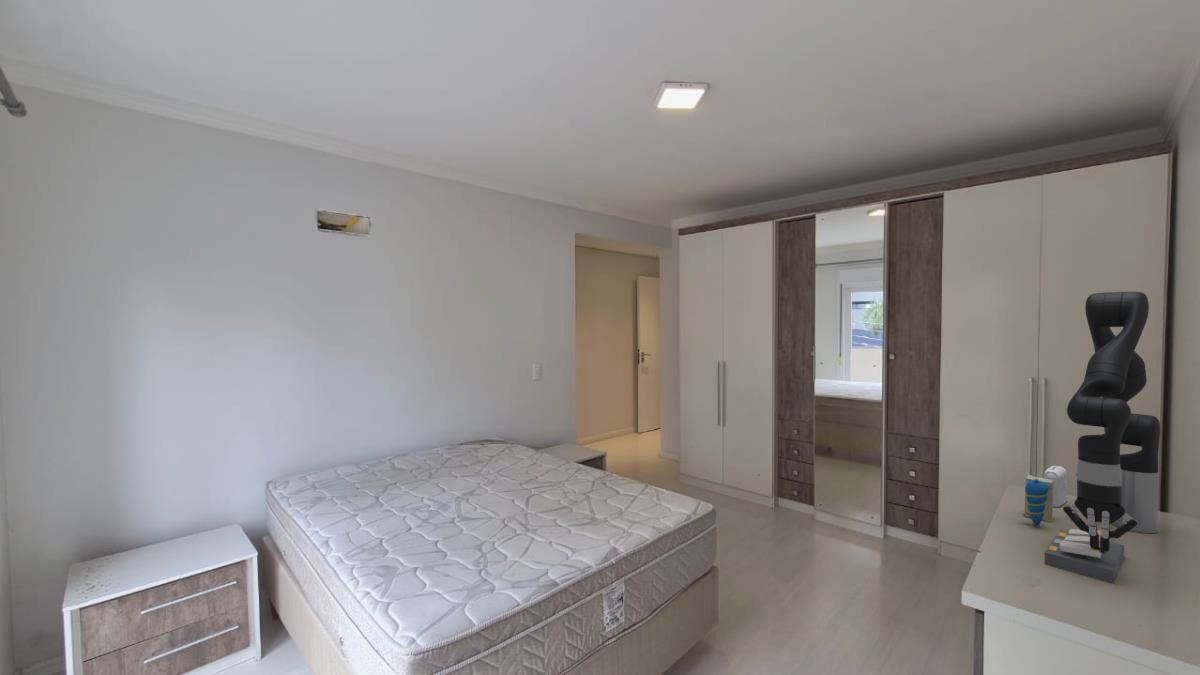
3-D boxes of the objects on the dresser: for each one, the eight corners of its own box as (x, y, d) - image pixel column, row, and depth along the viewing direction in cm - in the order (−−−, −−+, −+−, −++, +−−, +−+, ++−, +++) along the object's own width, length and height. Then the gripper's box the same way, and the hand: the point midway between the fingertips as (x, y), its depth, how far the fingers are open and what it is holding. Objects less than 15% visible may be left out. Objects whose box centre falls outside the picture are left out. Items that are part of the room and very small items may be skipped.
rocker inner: (1072, 534, 130) (1070, 528, 130) (1109, 536, 125) (1107, 530, 125) (1069, 538, 127) (1068, 532, 128) (1107, 540, 122) (1104, 534, 122)
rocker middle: (1068, 540, 126) (1066, 534, 127) (1106, 543, 121) (1103, 536, 121) (1065, 545, 124) (1063, 539, 124) (1103, 548, 118) (1101, 541, 119)
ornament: (1048, 526, 143) (1048, 476, 142) (1048, 532, 139) (1048, 480, 138) (1025, 521, 146) (1025, 472, 146) (1024, 527, 142) (1024, 477, 142)
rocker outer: (1063, 546, 123) (1062, 539, 123) (1102, 552, 117) (1101, 546, 117) (1060, 550, 120) (1059, 544, 120) (1100, 557, 115) (1099, 551, 115)
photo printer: (1051, 498, 164) (1051, 462, 164) (1068, 501, 161) (1068, 465, 161) (1041, 504, 159) (1041, 467, 158) (1059, 508, 155) (1059, 470, 155)
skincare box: (1024, 516, 150) (1024, 478, 149) (1026, 512, 153) (1026, 474, 152) (1052, 522, 145) (1052, 482, 145) (1053, 518, 148) (1053, 479, 148)
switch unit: (1059, 540, 133) (1059, 527, 133) (1123, 556, 124) (1123, 542, 124) (1044, 564, 121) (1044, 549, 121) (1114, 583, 112) (1114, 567, 112)
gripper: (1141, 483, 113) (1142, 556, 113) (1063, 470, 123) (1064, 537, 124) (1139, 490, 108) (1139, 566, 109) (1058, 476, 119) (1058, 546, 119)
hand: (1099, 551), depth 116 cm, fingers closed
